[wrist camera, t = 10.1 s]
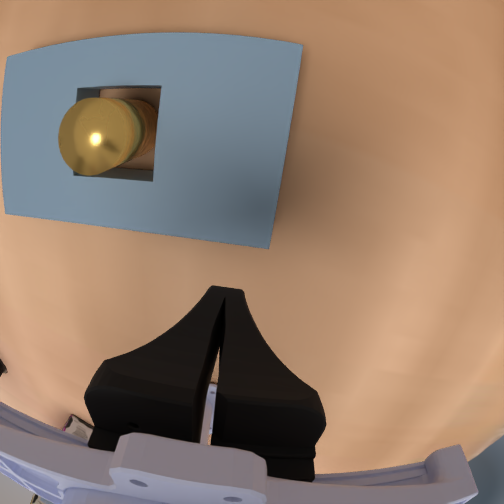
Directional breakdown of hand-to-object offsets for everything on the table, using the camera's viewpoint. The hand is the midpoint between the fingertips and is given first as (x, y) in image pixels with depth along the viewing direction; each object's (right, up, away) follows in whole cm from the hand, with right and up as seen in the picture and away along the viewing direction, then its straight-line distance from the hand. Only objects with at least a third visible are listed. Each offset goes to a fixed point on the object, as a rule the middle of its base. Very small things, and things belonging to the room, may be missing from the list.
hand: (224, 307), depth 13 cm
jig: (-7, +10, +6) cm, 14 cm away
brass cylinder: (-7, +10, +6) cm, 14 cm away
